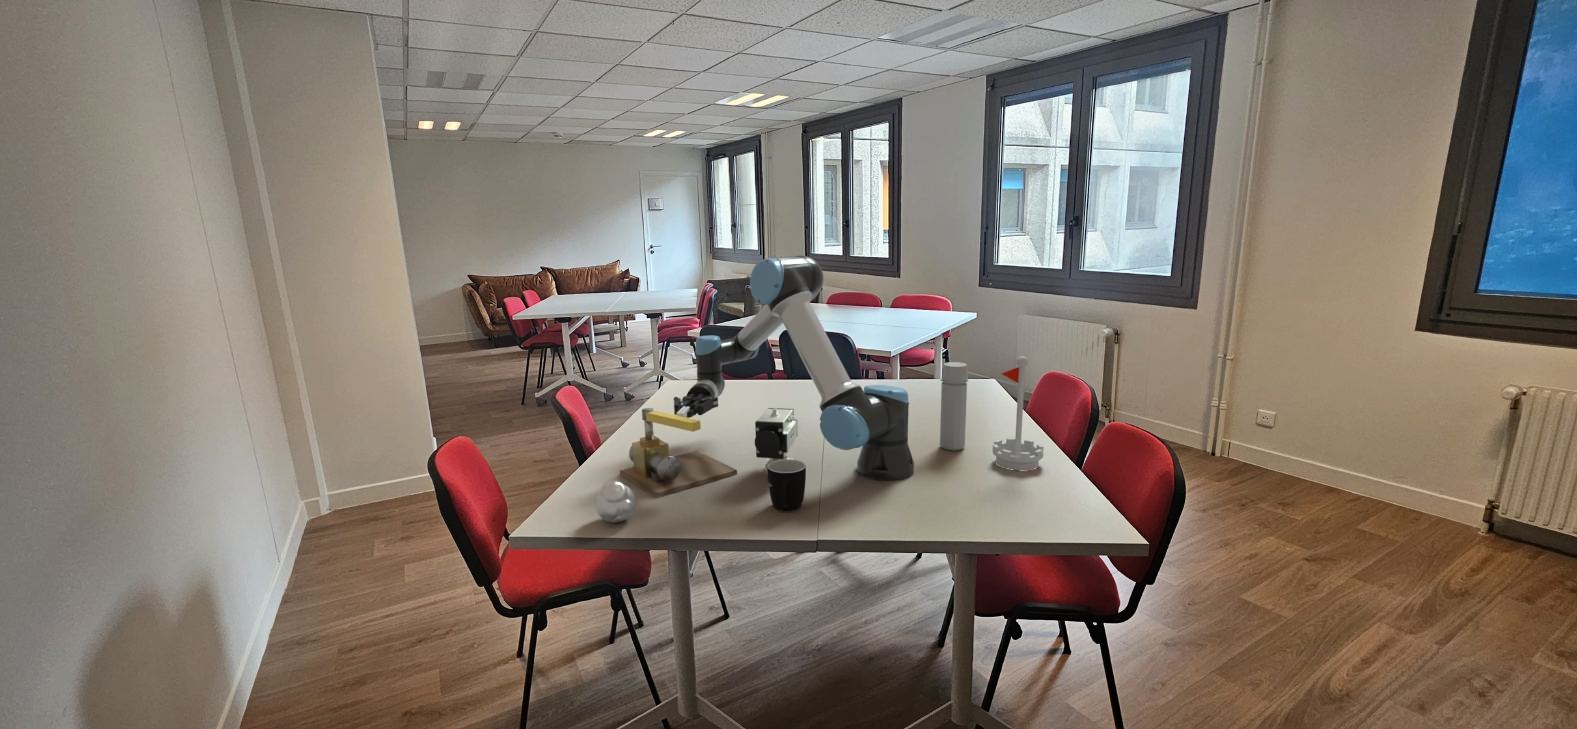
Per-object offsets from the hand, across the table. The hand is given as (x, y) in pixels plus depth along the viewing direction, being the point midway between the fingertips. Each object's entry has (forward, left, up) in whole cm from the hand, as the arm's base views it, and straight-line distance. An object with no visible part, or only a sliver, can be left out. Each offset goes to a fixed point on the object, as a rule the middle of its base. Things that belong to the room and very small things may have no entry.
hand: (680, 418), depth 170 cm
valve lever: (0, +3, -1) cm, 3 cm away
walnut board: (+5, 0, -17) cm, 18 cm away
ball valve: (-7, -24, -17) cm, 31 cm away
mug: (-29, -16, -17) cm, 37 cm away
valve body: (+5, +6, -16) cm, 18 cm away
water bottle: (-12, -78, -17) cm, 81 cm away
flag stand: (-32, -84, -17) cm, 92 cm away
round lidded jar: (-17, +21, -17) cm, 32 cm away
